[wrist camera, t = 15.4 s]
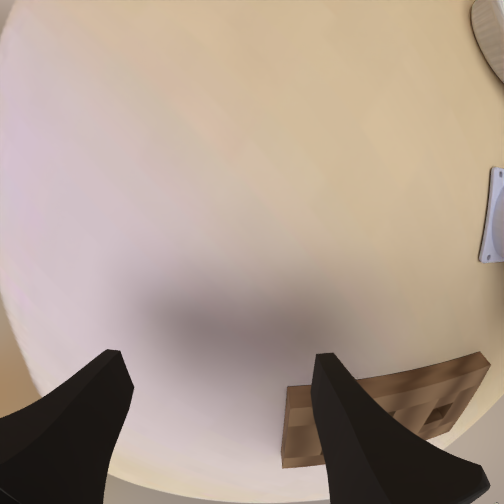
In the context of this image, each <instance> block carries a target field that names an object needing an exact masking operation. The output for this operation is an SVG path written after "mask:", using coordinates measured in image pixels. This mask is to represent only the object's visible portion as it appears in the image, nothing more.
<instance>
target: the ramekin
mask: <svg viewBox="0 0 504 504" xmlns="http://www.w3.org/2000/svg"><path fill="white" fill-rule="evenodd" d="M471 14H472V15H471V19H472V26H473V30H474V34H475V37H476V39H477V42H478V44H479V47H480V49H481V51H482V53H483V55H484V57H485V58H486V60H487V62H488V63H489V65H490V67H491V68H492V69H493V71H494V72H495V74H496V75H497V76H498V77H499V79H500V80H501V81H502V82H503V83H504V0H476V1H475V2H474V4H473V6H472V11H471Z"/></svg>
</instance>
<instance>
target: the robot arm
mask: <svg viewBox="0 0 504 504" xmlns="http://www.w3.org/2000/svg"><path fill="white" fill-rule="evenodd" d="M487 256H488V257H487ZM479 260H480V262H482V263H493V262H504V169H502V168H498V167H493V168H492V170H491V182H490V194H489V203H488V211H487V218H486V224H485V231H484V236H483V241H482V247H481V251H480V256H479ZM133 391H134V385H133V383H132V381H131V378H130V376H129V373H128V370H127V368H126V365H125V362H124V360H123V357H122V354H121V351H118V350H110V349H107V350H105V351H104V352H102V353H101V354H100V355H98V356H97V357H96V358H94V359H93V360H92V361H91V362H89V363H88V364H87V365H86V366H84V367H83V368H82V369H81V370H79V371H78V372H77V373H76V374H74V375H73V376H72V377H71V378H69V379H68V380H67V381H65V382H64V383H63V384H61V385H60V386H58V387H57V388H56V389H54V390H53V391H52V392H50V393H49V394H47V395H46V396H44V397H43V398H41V399H40V400H38V401H36V402H34V403H32V404H31V405H29V406H27V407H25V408H23V409H21V410H19V411H17V412H14V413H12V414H10V415H7V416H5V417H3V418H0V504H103V498H104V490H105V483H106V477H107V472H108V468H109V463H110V459H111V456H112V453H113V450H114V447H115V444H116V442H117V439H118V437H119V434H120V431H121V429H122V426H123V424H124V421H125V418H126V416H127V413H128V411H129V407H130V404H131V400H132V395H133ZM310 393H311V401H312V409H313V416H314V420H315V424H316V428H317V432H318V436H319V440H320V444H321V448H322V452H323V456H324V460H325V464H326V469H327V475H328V484H329V493H330V502H331V504H470V503H472V502H473V501H475V500H476V499H477V498H479V497H480V496H481V495H483V494H484V493H485V492H486V491H487V490H488V489H489V488H490V483H489V481H488V479H487V476H486V474H485V472H484V470H483V468H482V467H481V465H478V464H475V463H472V462H470V461H467V460H464V459H461V458H458V457H456V456H454V455H452V454H449V453H447V452H445V451H443V450H441V449H439V448H437V447H435V446H434V445H432V444H430V443H429V442H427V441H425V440H424V439H422V438H420V437H419V436H417V435H416V434H414V433H413V432H411V431H410V430H409V429H407V428H406V427H404V426H403V425H402V424H401V423H399V422H398V421H397V420H396V419H394V418H393V417H392V416H391V415H390V414H389V413H387V412H386V411H385V410H384V409H383V408H382V407H381V406H380V405H379V404H378V403H377V402H376V401H375V400H374V399H373V398H372V397H371V396H370V395H369V394H368V393H367V392H366V391H365V390H364V389H363V388H362V386H361V385H360V384H359V383H358V382H357V381H356V380H355V379H354V377H353V376H352V375H351V374H350V373H349V371H348V370H347V369H346V368H345V367H344V365H343V364H342V363H341V362H340V360H339V359H338V358H337V356H336V355H335V354H334V353H324V354H316V359H315V366H314V372H313V379H312V385H311V391H310ZM495 504H499V503H498V502H496V503H495Z"/></svg>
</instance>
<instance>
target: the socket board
mask: <svg viewBox="0 0 504 504" xmlns="http://www.w3.org/2000/svg"><path fill="white" fill-rule="evenodd" d="M490 366H491V364H490V363H489V362H488V361H487V359H486V358H485V357H484V356H483V355H482V353H481V352H477V353H474V354H471V355H468V356H464V357H461V358H458V359H454V360H451V361H447V362H443V363H439V364H436V365H432V366H427V367H423V368H419V369H414V370H410V371H405V372H400V373H395V374H390V375H385V376H379V377H373V378H367V379H360V380H356V381H357V382H358V383H359V384H360V385H361V386H362V388H363V389H364V390H365V391H366V392H367V393H368V394H369V395H370V396H371V397H372V398H373V399H374V400H375V401H376V402H377V403H378V404H379V405H380V406H381V407H382V408H383V409H384V410H385V411H386V412H387V413H389V414H390V415H391V416H392V417H393V418H394V419H396V420H397V421H398V422H399V423H401V424H402V425H403V426H404V427H406V428H407V429H409V430H410V431H411V432H413V433H414V434H416V435H417V436H419V437H420V438H422V439H424V440H428V439H431V438H433V437H436V436H439V435H441V434H444V433H446V432H449V431H450V429H451V428H452V427H453V425H454V424H455V423H456V421H457V420H458V418H459V417H460V415H461V414H462V412H463V411H464V410H465V408H466V406H467V405H468V403H469V402H470V400H471V399H472V397H473V396H474V394H475V392H476V391H477V389H478V387H479V386H480V384H481V382H482V380H483V379H484V377H485V375H486V373H487V371H488V369H489V368H490ZM310 391H311V385H306V386H292V387H287V399H286V409H285V419H284V429H283V438H282V447H281V457H282V469H283V468H296V467H307V466H316V465H323V464H325V460H324V456H323V452H322V448H321V444H320V440H319V436H318V432H317V428H316V424H315V420H314V416H313V409H312V401H311V393H310Z"/></svg>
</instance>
